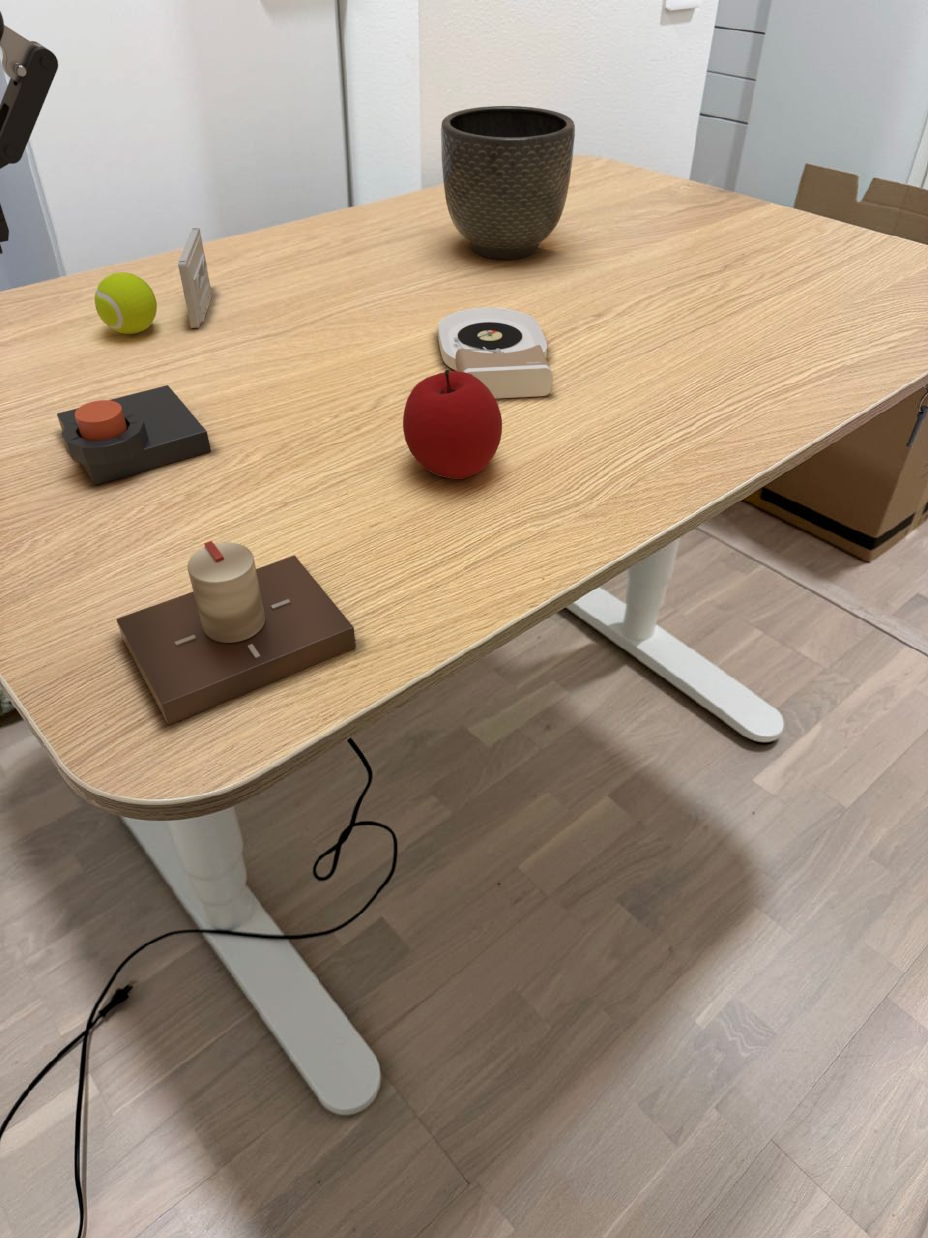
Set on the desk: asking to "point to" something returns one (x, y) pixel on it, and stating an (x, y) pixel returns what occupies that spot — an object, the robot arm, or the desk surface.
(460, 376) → the apple
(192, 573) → the dial
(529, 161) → the planter
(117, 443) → the button box
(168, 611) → the dial panel
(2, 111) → the robot arm
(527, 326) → the record player
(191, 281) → the cassette
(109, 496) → the desk surface
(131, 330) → the tennis ball
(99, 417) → the button
